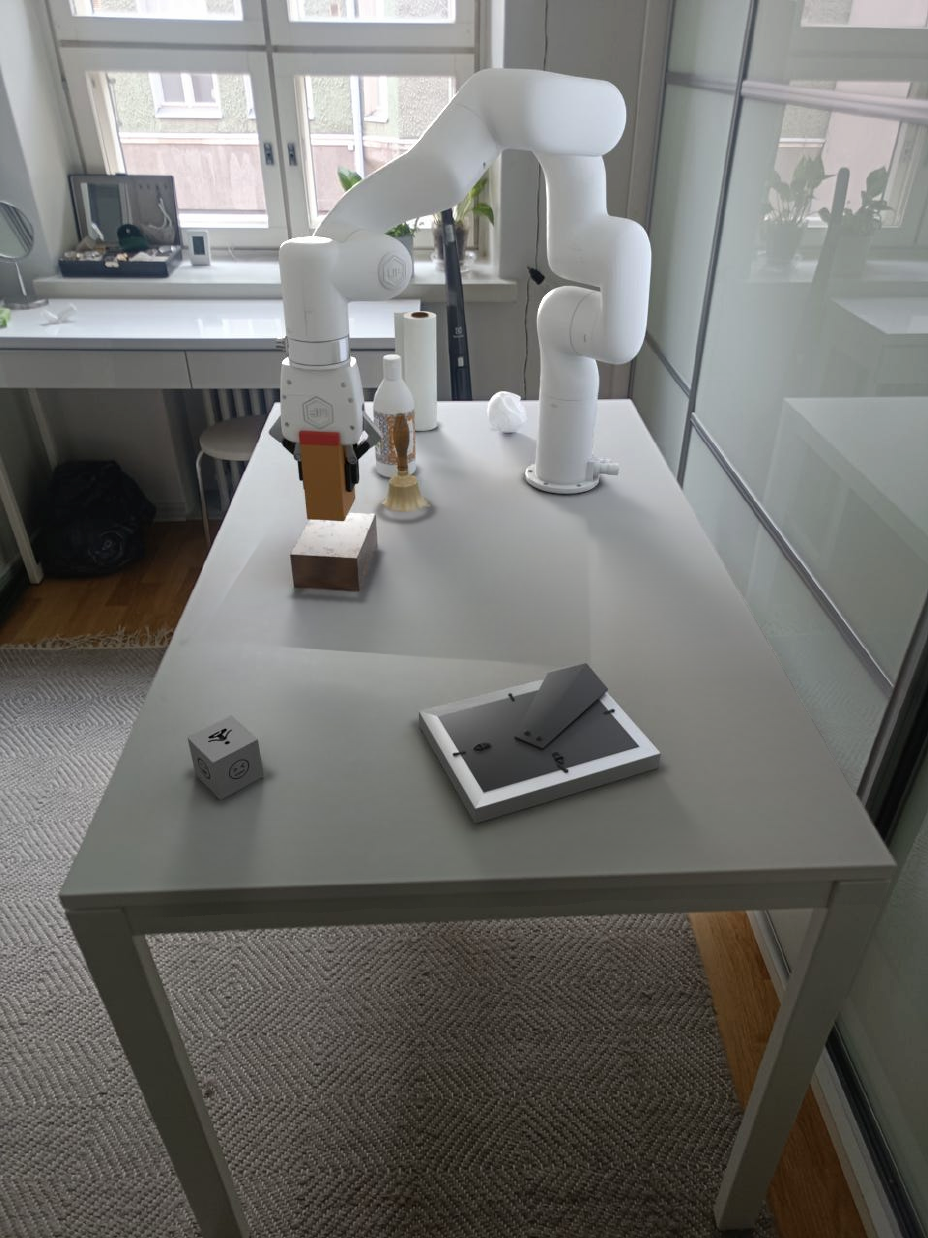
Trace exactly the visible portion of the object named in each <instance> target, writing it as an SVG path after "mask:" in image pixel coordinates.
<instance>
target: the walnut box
mask: <svg viewBox="0 0 928 1238" xmlns="http://www.w3.org/2000/svg"><path fill="white" fill-rule="evenodd" d="M378 546H379V545H378V527H377V514H376V513H368V512H367V513H365V512H349V513H348V515H347V517H346V519H345V521H327V520H310V519H308V521H307V523H306V524H305V527H304V529H303V530H302V532H301V533H300V536H299V537H298V539H297V541H296V543H295V544H294V546H293V548H292V549H291V552H290V554H289V557H290V566H291V567H290V568H291V575H292V583H293V588H295V589H311V590H324V591H325V590H326V591H327V590H328V591H343V592H358V593H359V592H360V591H361V589H362V586H363V584H364V581H365V579H366V576H367V573H368V571H369V569H370V566H371V563H372V561H373V558H374V557H375V553H376V551H377V548H378Z"/></svg>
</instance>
